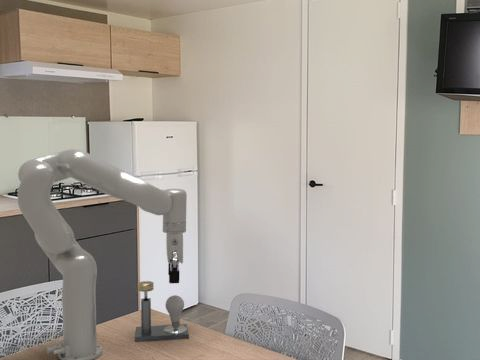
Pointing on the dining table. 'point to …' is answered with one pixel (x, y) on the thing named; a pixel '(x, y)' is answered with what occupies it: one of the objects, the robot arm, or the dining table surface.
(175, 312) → the lightbulb
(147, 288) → the brass knob
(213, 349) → the dining table surface
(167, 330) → the metal press stand
